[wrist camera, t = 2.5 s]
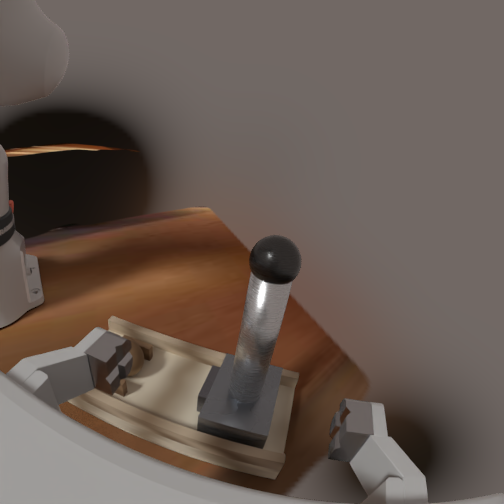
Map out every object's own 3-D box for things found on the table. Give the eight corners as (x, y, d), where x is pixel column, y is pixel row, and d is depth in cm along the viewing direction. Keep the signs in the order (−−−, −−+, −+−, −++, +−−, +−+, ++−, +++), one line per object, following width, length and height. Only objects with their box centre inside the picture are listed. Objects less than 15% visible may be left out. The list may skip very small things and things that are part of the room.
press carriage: (276, 385, 32) (323, 228, 25) (261, 451, 24) (323, 276, 17) (216, 369, 33) (241, 209, 26) (188, 430, 25) (204, 246, 18)
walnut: (106, 360, 31) (102, 332, 29) (140, 356, 33) (139, 328, 31) (111, 386, 28) (107, 358, 26) (148, 381, 30) (147, 354, 28)
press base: (291, 393, 34) (299, 371, 33) (274, 479, 23) (285, 461, 22) (114, 337, 37) (112, 313, 36) (60, 397, 26) (52, 373, 25)
